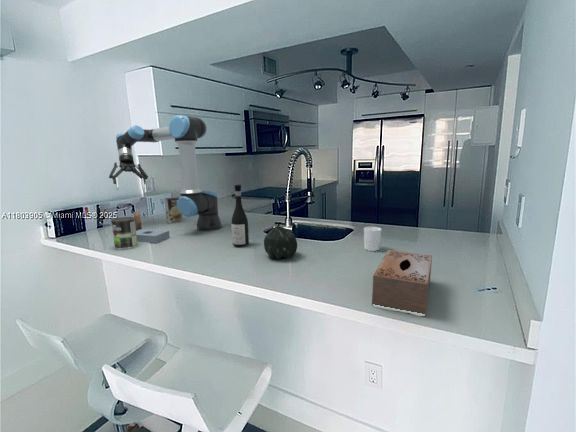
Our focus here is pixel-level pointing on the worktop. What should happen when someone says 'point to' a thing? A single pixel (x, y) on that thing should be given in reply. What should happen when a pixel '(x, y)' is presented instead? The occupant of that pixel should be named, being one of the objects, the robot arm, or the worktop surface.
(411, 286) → the tissue box cover
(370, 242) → the white cup
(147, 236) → the socket board
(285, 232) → the squash
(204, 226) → the robot arm
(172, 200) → the coffee box
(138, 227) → the dowel
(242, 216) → the wine bottle
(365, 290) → the worktop surface
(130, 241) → the coffee can
